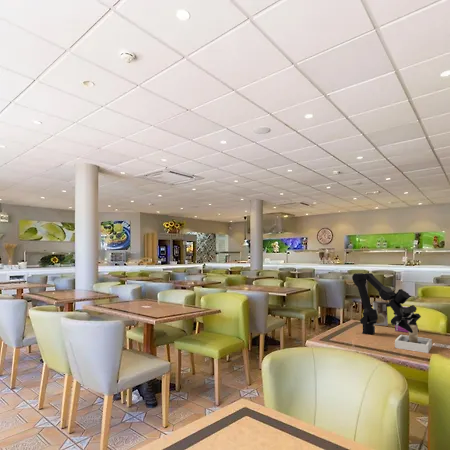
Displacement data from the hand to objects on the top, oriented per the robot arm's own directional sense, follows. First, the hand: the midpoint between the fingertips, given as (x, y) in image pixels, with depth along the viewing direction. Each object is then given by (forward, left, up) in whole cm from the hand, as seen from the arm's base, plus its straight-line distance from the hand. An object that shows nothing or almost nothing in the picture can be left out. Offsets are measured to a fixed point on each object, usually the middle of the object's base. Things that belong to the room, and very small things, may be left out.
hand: (415, 332), depth 195 cm
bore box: (-1, +1, -8) cm, 9 cm away
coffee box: (-30, +49, -9) cm, 58 cm away
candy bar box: (-12, +36, -9) cm, 39 cm away
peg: (-1, +1, -7) cm, 7 cm away
